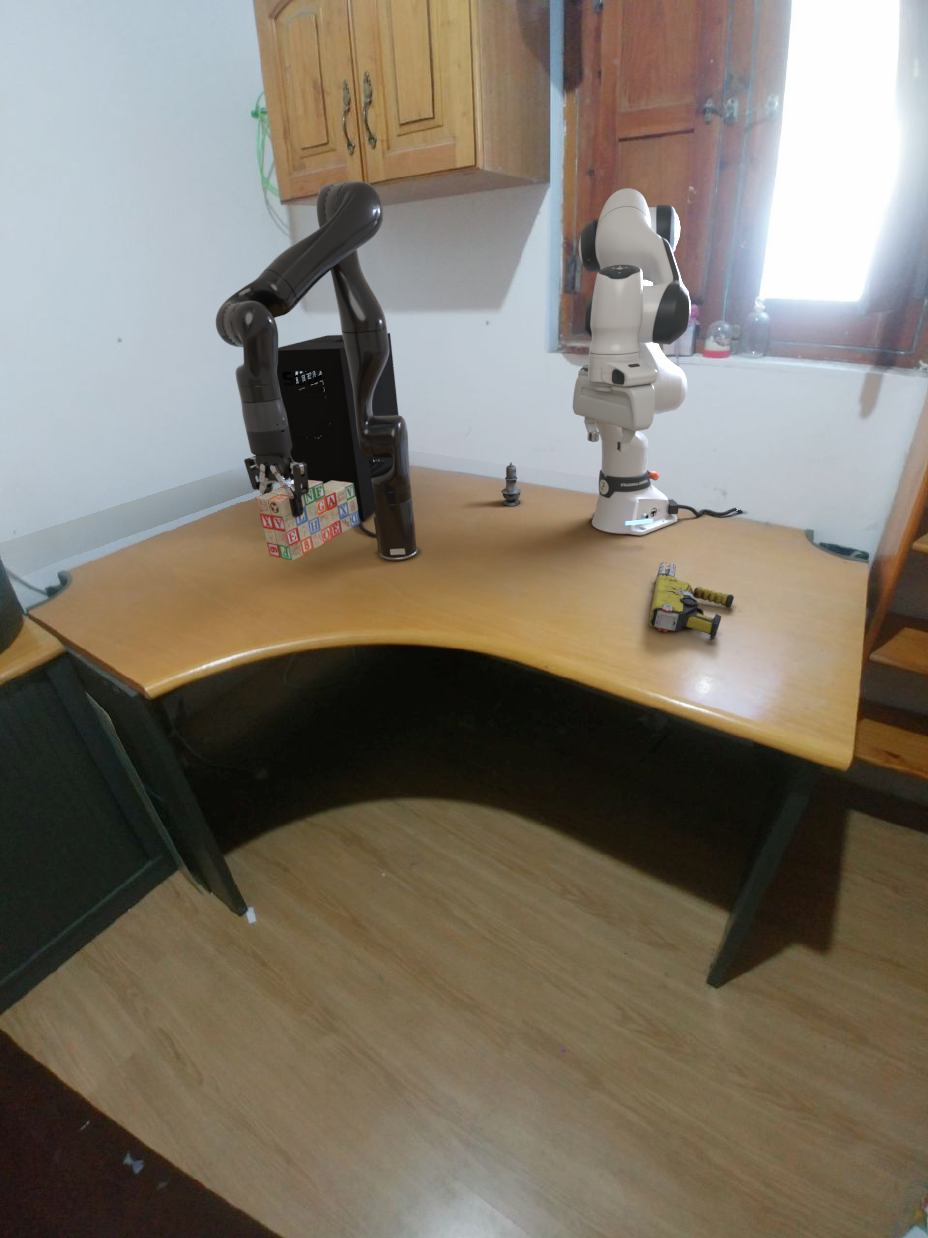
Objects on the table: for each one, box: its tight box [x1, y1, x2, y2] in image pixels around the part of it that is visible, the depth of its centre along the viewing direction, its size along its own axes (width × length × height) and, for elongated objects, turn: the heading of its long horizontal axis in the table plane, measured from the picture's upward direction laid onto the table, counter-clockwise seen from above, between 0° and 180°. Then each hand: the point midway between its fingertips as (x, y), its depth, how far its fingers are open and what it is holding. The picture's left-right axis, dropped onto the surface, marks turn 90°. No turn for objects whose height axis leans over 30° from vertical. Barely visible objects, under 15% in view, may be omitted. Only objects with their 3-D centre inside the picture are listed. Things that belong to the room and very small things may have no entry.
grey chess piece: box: [501, 462, 522, 507], centre depth 175 cm, size 6×6×12 cm
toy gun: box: [648, 561, 735, 640], centre depth 118 cm, size 5×24×15 cm
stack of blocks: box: [256, 480, 360, 561], centre depth 124 cm, size 21×6×12 cm, turn 150°
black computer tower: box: [277, 332, 399, 522], centre depth 177 cm, size 38×20×45 cm, turn 167°
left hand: (285, 513), depth 117 cm, fingers closed on stack of blocks, 6 cm apart
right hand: (607, 445), depth 116 cm, fingers open, 8 cm apart
